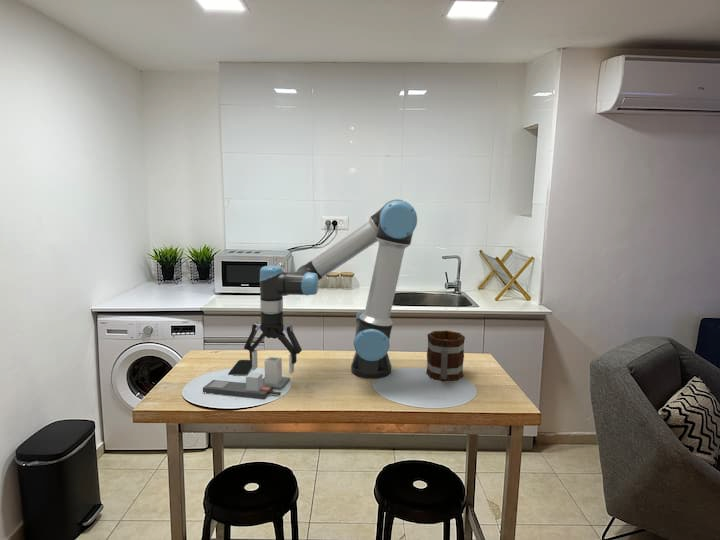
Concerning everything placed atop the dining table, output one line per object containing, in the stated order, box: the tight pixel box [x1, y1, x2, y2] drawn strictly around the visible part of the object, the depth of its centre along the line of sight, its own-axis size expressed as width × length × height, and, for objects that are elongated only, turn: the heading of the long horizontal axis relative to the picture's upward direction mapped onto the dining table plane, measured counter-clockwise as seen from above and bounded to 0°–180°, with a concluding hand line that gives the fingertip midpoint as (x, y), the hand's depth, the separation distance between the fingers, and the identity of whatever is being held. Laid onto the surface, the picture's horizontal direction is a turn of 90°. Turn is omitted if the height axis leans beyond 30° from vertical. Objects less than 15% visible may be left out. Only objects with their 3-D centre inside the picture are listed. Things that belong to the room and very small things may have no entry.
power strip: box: [202, 379, 282, 400], centre depth 167 cm, size 26×7×2 cm, turn 78°
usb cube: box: [245, 371, 264, 391], centre depth 166 cm, size 4×4×4 cm
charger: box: [263, 356, 283, 384], centre depth 173 cm, size 4×4×8 cm
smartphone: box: [227, 359, 253, 377], centre depth 189 cm, size 7×1×15 cm
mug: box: [425, 330, 466, 383], centre depth 180 cm, size 20×14×15 cm
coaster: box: [262, 376, 291, 391], centre depth 174 cm, size 9×9×1 cm
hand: (273, 370), depth 173 cm, fingers open, 13 cm apart
